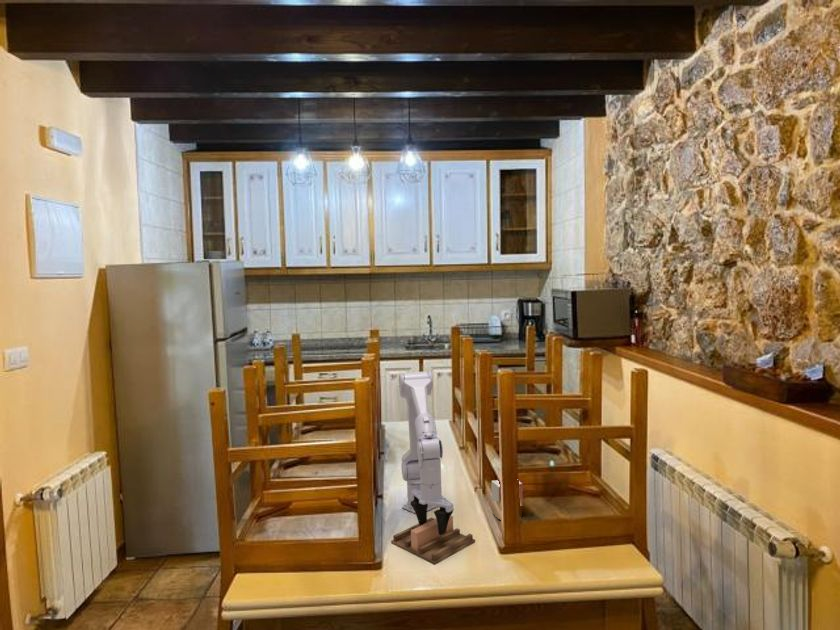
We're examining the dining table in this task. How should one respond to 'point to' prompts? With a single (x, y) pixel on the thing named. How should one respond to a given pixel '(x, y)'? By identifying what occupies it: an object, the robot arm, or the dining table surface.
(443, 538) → the rack
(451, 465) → the dining table surface
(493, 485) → the small box
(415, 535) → the clay block
